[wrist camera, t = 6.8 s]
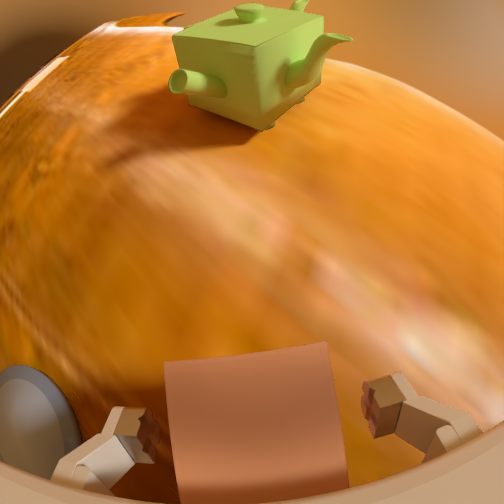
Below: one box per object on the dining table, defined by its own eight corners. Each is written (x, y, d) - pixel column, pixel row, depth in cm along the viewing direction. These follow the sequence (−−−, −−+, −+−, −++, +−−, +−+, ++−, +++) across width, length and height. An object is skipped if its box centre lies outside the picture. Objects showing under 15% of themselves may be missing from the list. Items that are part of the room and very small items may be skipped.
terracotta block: (314, 449, 14) (349, 493, 6) (227, 460, 14) (182, 509, 6) (302, 370, 16) (326, 340, 9) (217, 381, 17) (163, 361, 9)
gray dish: (94, 513, 12) (88, 516, 11) (0, 478, 12) (-7, 478, 11) (78, 370, 17) (71, 368, 16) (-8, 363, 17) (-15, 360, 16)
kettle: (306, 67, 32) (307, -11, 22) (351, 134, 26) (369, 26, 16) (187, 84, 32) (168, 5, 22) (189, 158, 25) (155, 46, 15)
